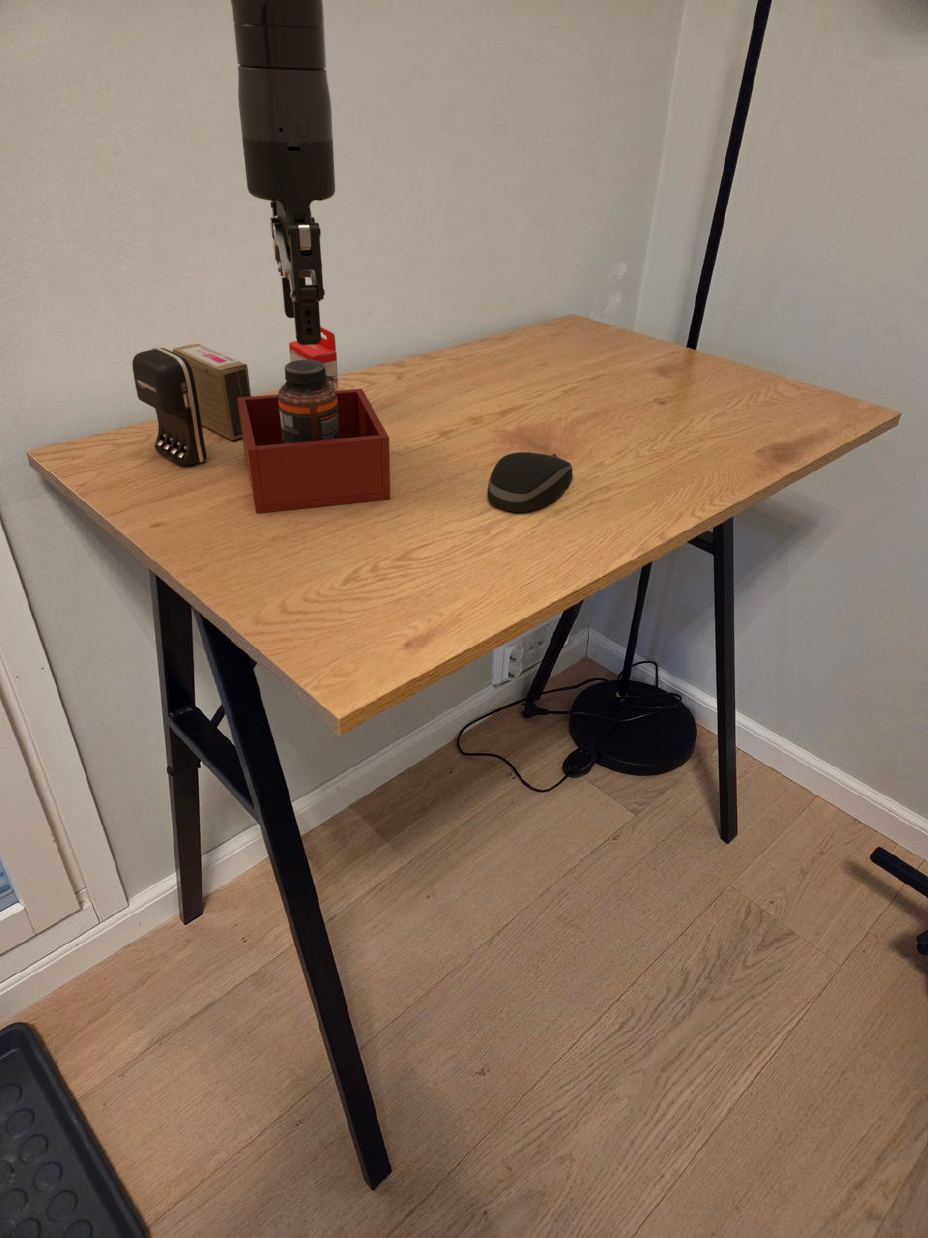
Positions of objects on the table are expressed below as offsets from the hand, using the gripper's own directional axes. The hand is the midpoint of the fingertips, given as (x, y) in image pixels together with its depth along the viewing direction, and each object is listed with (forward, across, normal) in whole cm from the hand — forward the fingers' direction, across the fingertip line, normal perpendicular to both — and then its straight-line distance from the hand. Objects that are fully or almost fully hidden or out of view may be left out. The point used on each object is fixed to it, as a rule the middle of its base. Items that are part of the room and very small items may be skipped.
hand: (302, 329), depth 76 cm
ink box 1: (+16, -16, -9) cm, 24 cm away
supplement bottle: (+15, 0, 0) cm, 15 cm away
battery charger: (+16, -8, -14) cm, 23 cm away
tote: (+15, 0, 0) cm, 16 cm away
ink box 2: (+16, -18, +3) cm, 24 cm away
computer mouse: (+16, +8, +22) cm, 28 cm away
